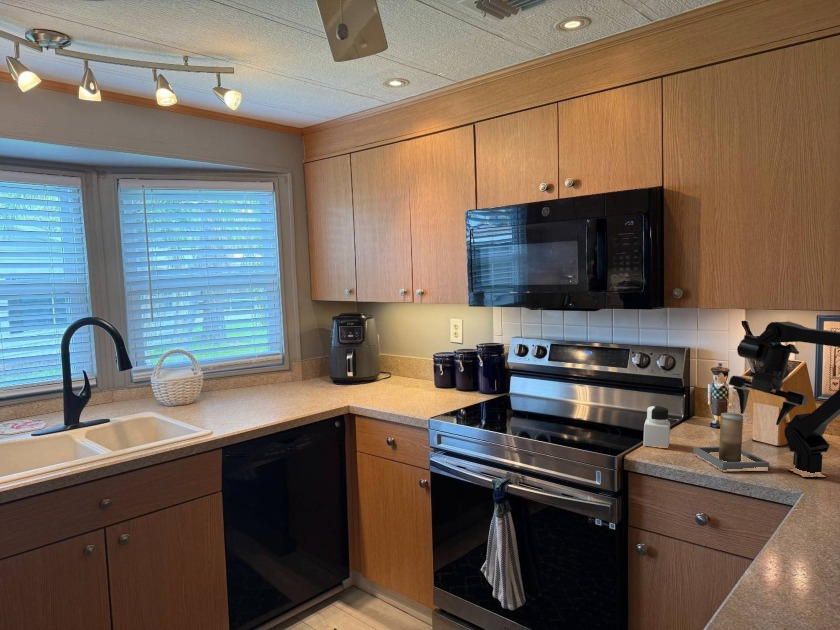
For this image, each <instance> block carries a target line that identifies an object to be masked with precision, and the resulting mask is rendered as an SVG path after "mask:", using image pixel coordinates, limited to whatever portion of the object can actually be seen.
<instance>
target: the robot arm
mask: <svg viewBox="0 0 840 630" xmlns="http://www.w3.org/2000/svg"><path fill="white" fill-rule="evenodd" d="M781 343H788V344H786V345H785V344H781ZM793 343H806V344H807V343H808V344H815V345H821V346H829V347H837V348H840V331H837V330H836V331H835V330H825V329H818V328H809V327H806V326H804V325H802V324H799V323H795V322H792V321H771V322H769V323H768V324H767V326H766V327H765V330H764V331H763V332H762V333H761V334H759V336H754V335H752V334H745V335H744V336H743V339H742V340H740V342H739V344H738V345H737V348H736V351H737V355H738V356H739V357H740V358H743V359H749V360H751V361H752V360H753V361H755V362H760V363H761V362H762V364H761V366H760V368H759V371H758V372H757V373H756V374H754V375H753V376H752V378H749V377H744V376H739V375H732V376H731V377H730V379H729V382H728V385H729V386H733V387H732V389H733V390H736V393H737V396H738V399H739V409H740V415H744V413H745V410H746V408H747V402H748V399H749V394H750V389H752V390H755V391H759V392H763V393H765V394H770V395H774V396H776V397H781V398H784V399H786V400H785V401H783V402H782V406H781V409H780V412H779V414H778V416H777V419H776V423H775V425H776V426H779V425H780V424H781V423H782V421H783V420H784V419H785V417H786V416H787V415H788V414H789V413H790V412H791V411H792V410H793V409H794V408H795V407H801V406H807V404H808V400H809V396H808V395H807V394H806V393H803V392H798V391H794V390H788V391H785V390H782V388H783V385H784V384H783V382H784V378H785V375H786V370H787V367H788V363H789V359H790V355H791V354H795V355H799V354H800V351H799V350H798V348H796V345H795V344H793ZM770 344H774V345H770ZM748 388H749V389H748ZM839 416H840V388H839V389H838V390H836V392H834V393H833V394H832V395H830V397H828V399H826V400H825V401H824V402H823V403H821V404H820V405H819V406H818V407H816V409H814V410H813V411H812V412H806V413H800V414H799V413H798V414H796V415H794V416H793V418H792V419H790V421H788V422H785V425H786V426H785V428H783V429H784V430H783V432H784V437H785V439H786V441H787V445H788V449H789V451H790V452H791V453H792V452H793V463H792V465H793V464H794V465H795V468H797V469H799V470H802V471H807V472H810V473H815V472H822V471H823V457H824V456H823V454H822V453H827V452H828V450H829V449H830V448H831V447H830V444H829V443H828V441H827V440H826V439H825V438H824V436H823V435H824V433H825V431H826V429H827V426H828V425H829V424H830V423H831V422H833V421H834V420H835V419H836V418H837V417H839Z"/></svg>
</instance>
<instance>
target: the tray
mask: <svg viewBox="0 0 840 630" xmlns="http://www.w3.org/2000/svg"><path fill="white" fill-rule="evenodd" d="M692 449H693V450H692V453H693V452H694V453H695V454H697V455H699V456H700V457H702V458H704V459H705V460H707V461H709V462H711V463H712V464H714V465H716V466H717V467H719V468H720V469H722V470H727V469H743V468H754V467H755V468H756V467H769V468H770V462H768V461H767V460H764V459H762V458H760V457H758V456H756V455H754V454H752V453H750V452H749V451H747V450H744V449H742V448H741V454H742V455H743V456H746V457H747V458H749V459H751V460H753V461H755V462H723V461H722V460H720V459H718V458H716V457H714V456H712V455H711V454H709V453H710V452H719V446H693V447H692Z"/></svg>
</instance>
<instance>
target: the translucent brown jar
mask: <svg viewBox="0 0 840 630" xmlns="http://www.w3.org/2000/svg"><path fill="white" fill-rule="evenodd" d="M743 425H744V416H743V414H741V413H740V414H739V413H735V412H722V413H720V426H719V427H720V428H719V445H718V447H719V459H720V460H723V461H727V462H740V461H741V449H742V447H743V446H742V445H743V428H744V427H743Z"/></svg>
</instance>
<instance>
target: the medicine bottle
mask: <svg viewBox="0 0 840 630" xmlns="http://www.w3.org/2000/svg"><path fill="white" fill-rule="evenodd" d="M646 411H647V412H646V413H647V414H646V419H645V422H644V426H643V444H642V445H645V446H662V447H669V448H670V433H671V422H670V421H669V409H668V408H666V407H664V406H660V405H652V406H651V405H650V406H649V407H647V409H646Z"/></svg>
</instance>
